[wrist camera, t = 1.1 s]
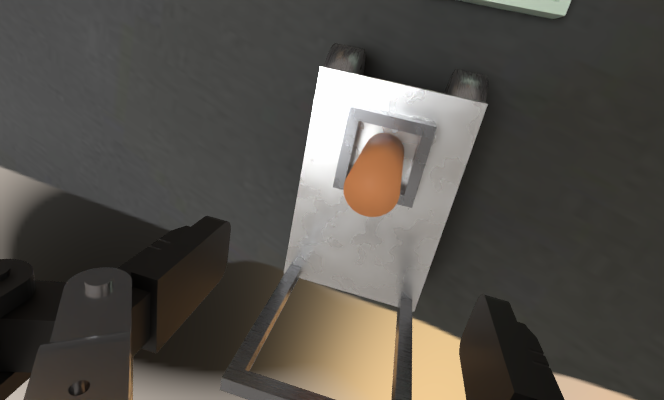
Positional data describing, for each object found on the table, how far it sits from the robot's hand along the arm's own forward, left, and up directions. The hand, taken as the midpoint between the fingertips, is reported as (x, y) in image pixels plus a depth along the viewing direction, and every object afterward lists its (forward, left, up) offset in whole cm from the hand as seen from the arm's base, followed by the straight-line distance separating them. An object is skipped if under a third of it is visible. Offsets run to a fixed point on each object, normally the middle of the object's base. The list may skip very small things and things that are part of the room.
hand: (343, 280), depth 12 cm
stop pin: (0, 0, -18) cm, 18 cm away
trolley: (+4, 0, -27) cm, 27 cm away
